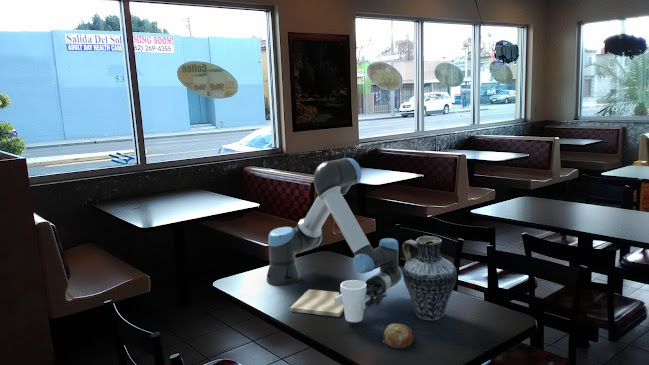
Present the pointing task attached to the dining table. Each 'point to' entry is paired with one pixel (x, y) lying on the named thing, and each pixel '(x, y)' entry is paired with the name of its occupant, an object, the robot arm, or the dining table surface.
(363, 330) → the dining table surface
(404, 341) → the bread roll
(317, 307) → the serving board
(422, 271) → the jug
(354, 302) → the foam cup
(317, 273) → the dining table surface
